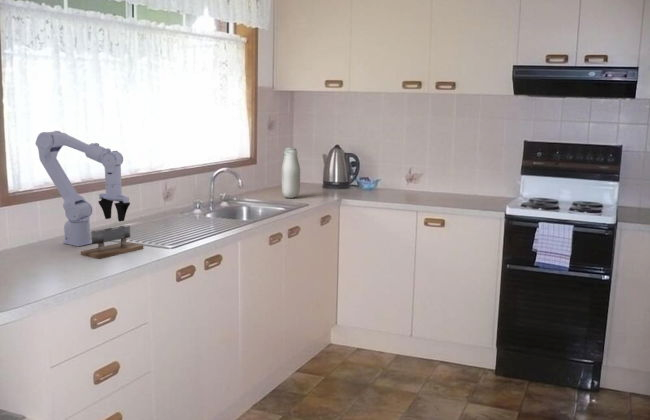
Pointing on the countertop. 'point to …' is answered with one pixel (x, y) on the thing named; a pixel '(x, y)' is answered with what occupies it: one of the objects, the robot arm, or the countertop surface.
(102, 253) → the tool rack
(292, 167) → the glass bottle
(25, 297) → the countertop surface
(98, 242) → the dark grey bar
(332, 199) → the countertop surface
